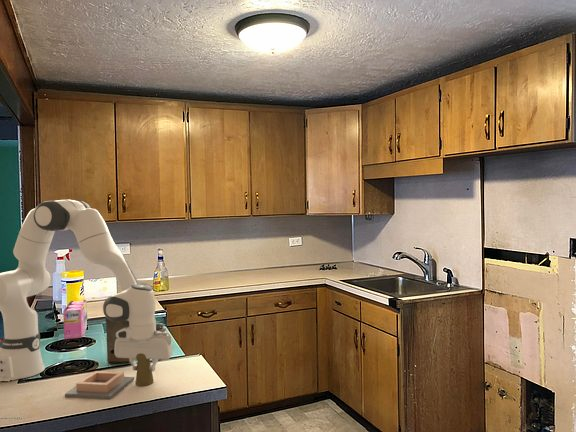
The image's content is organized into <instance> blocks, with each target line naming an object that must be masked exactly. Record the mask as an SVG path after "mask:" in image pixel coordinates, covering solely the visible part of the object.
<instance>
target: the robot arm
mask: <svg viewBox="0 0 576 432" xmlns="http://www.w3.org/2000/svg"><path fill="white" fill-rule="evenodd" d="M56 231H57V232H58V231H62V232H63V231H71V232H72V233H74V236H75V238H76V241H77V245H78V247H79V249H80V252H81V254H82V255H83V257H84V258H85V259H86V260H87V261H88V262H90V263H93V264H96V265H100V266H103V267H105V268H107V269H108V270H111V272H112V273H113V274H114V276H115V278H116V281H117V282H118V284H119V286H120V288H121V290H122V291H121V292H118V293H115V294H112V295H109V296H108V297H107V298H106V299H105V300H104V302H103V304H102V305H103V306H102V311H103V315H104V316H105V318H107V319H108V320H110V321H112V322H120V321H125V320H128V321H129V326H128V327H125V328H123V329H121V330H119V331H118V332H116V337H117V339H116V340H115V346H114V353H115V356H116V357H117V358H129V361H130V362H129V363H130V365H131V366H132V371H136V372H137V364H138V363H137V362H136V356H137V354H140V353H141V354H144V355H145V356H146V358H147V359H150V360H151V362H152V364H151V366H149V371H152V372H155V371H156V365H157V363H158V361H159V360H163V361H165V360H166V361H167V360H169V359H170V358H171V357H172V356H173V346H172V335H171V334H170V333H169V332H167V331H166V332H156V323H157V321H156V318H155V313H156V297H155V292H154V290H153V288H152V286H151V285H150V284H149V285H148V284H145V283H139V281H138V279H137V278H136V275H135V273H134V272H133V269H132V268H131V265H130V263H129V261H128V260H127V258H126V256H125V254H123V252H122V251H121V249H119V247H118V246H117V245H116V243H115V241H114V239H113V237H112V236H111V233H110V231H109V228H108V226H107V223H106V221H105V220H104V218H103V215H101V214H100V212H99V211H98V210H97V209H96V208H91V206H90V205H89V204H88V203H86V202H85V201H82V200H78V199H59V200H57V199H56V200H46V201H43V202H41V203H38V204H37V206H36V207H35V208H32V209H31V210H30V211H29V212H28V213H27V215H26V217H25V219H24V220H23V223H22V224H21V228H20V230H19V232H18V235H17V239H16V241H15V244H14V247H13V250H12V253H13V255H14V257H15V258H16V259H17V260H18V266H17V268H16V269H14V270H9V271H4V272H0V312H1V316H2V319H3V320H2V321H3V331H4V334H3V335H4V336H3V337H2V338H0V382H1V381H8V382H10V380H12V381H15V380H20V379H21V380H22V379H25V378H29V377H33V376H36V375H39V374H40V373H42V372H44V371H45V369H46V367H45V365H44V361H43V358H42V354H41V352H42V351H41V348H40V346H41V334H40V332H39V318H38V316H39V315H38V312H37V311H36V310H35V309H33V308H31V307H30V306H29V303H28V301H27V299H28V297H32V296H33V297H34V296H36V295H38V294H40V293H43V292H44V291H45V290H47V289H48V288H49V287H50V286H51V285H50V284H51V281H52V276H51V274H50V272H49V271H48V270H47V267H46V261H47V256H48V253H49V249H50V246H51V244H52V241H53V237H54V235H55V233H56Z"/></svg>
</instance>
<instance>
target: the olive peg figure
mask: <svg viewBox="0 0 576 432" xmlns="http://www.w3.org/2000/svg"><path fill="white" fill-rule="evenodd" d="M135 361H137V363H136V364H137V371H136V374H135V375H136V376H135V385H136V386H140V387H141V386H149V385H151V384H152V383H154V375H153V371H149V366H151V365H152V364H151V359H147V358H146V356H145V355H144V354H141V353H140V354H137V356H136V359H135Z"/></svg>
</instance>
